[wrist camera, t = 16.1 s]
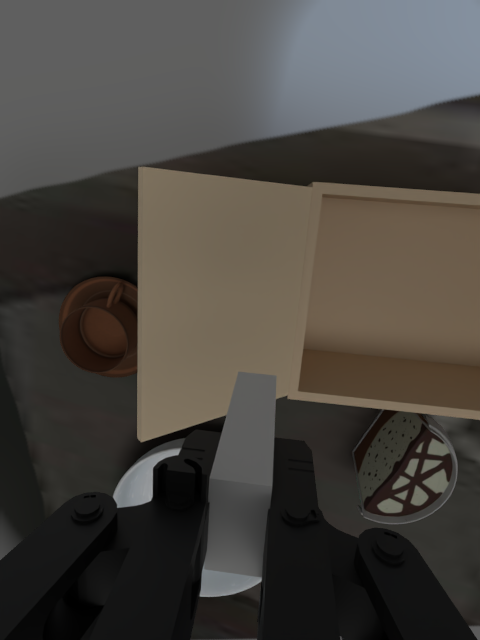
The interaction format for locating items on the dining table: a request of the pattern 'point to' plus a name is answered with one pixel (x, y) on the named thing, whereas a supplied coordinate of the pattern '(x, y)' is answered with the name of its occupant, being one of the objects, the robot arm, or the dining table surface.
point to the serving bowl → (140, 490)
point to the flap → (213, 291)
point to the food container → (403, 467)
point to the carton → (390, 301)
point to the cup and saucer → (101, 326)
